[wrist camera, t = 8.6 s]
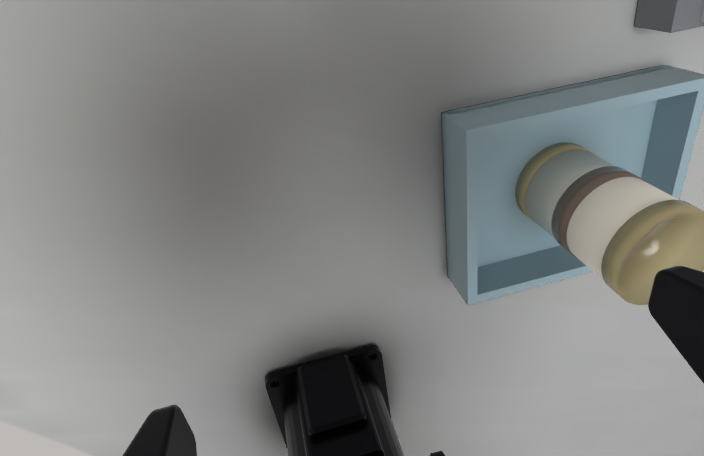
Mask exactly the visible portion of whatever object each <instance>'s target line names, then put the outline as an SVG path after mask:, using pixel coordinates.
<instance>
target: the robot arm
mask: <svg viewBox="0 0 704 456" xmlns="http://www.w3.org/2000/svg"><path fill="white" fill-rule="evenodd" d="M648 307H649V311H650V313H651V315H652V316H653V318H654V319H655V320H656V322H657V323H658V324H659V326H660V327H661V328H662V330H663V331H664V332H665V334H666V335H667V336H668V337H669V339H670V340H671V341H672V343H673V344H674V345H675V347H676V348H677V349H678V351H679V352H680V353H681V355H682V356H683V357H684V359H685V360H686V361H687V362H688V364H689V365H690V366H691V368H692V369H693V370H694V372H695V373H696V374H697V375H698V377H699V378H700V379H701V380H702V382H703V383H704V272H701V271H698V270H695V269H691V268H688V267H684V266H674V267H670V268H667V269H663V270H660V271H658V273H657V274H656V275H655V278H654V282H653V286H652V290H651V294H650V297H649V302H648ZM371 354H373V355H371ZM273 381H276V382H273ZM265 384H266V389H267V392H268V395H269V398H270V400H271V403H272V406H273V409H274V412H275V415H276V418H277V421H278V424H279V426H280V429H281V432H282V435H283V438H284V441H285V444H286V447H287V449H288V456H404V455H403V452H402V449H401V446H400V443H399V441H398V438H397V435H396V432H395V429H394V427H393V424H392V421H391V415H390V408H389V402H388V395H387V388H386V381H385V374H384V367H383V360H382V354H381V352H380V349H379V347H378V346H376V345H370V346H366V347H363V348H359V349H356V350H352V351H348V352H345V353H341V354H337V355H334V356H330V357H326V358H323V359H319V360H315V361H312V362H308V363H305V364H301V365H297V366H294V367H290V368H286V369H283V370H279V371H275V372H272V373H270V374H268V375H267V376H266V378H265ZM123 456H197V452H196V442H195V438H194V434H193V432H192V430H191V428H190V426H189V424H188V422H187V420H186V418H185V416H184V414H183V413H182V411H181V409H180V408H179V407H178V406H177V405H171V406H168V407H164V408H161V409H157V410H154V411H153V412H151V413H150V414H149V416H148V417H147V419H146V420H145V422H144V423H143V425H142V426H141V428H140V429H139V431H138V433H137V434H136V436H135V437H134V439H133V440H132V442H131V443H130V445H129V447H128V448H127V450H126V451H125V453H124V454H123ZM430 456H445V455H444V454H443V452H442V451H439V452H434V453H431V454H430Z"/></svg>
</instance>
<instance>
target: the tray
mask: <svg viewBox="0 0 704 456" xmlns="http://www.w3.org/2000/svg"><path fill="white" fill-rule="evenodd" d="M703 108H704V74H700V73H696V72H692V71H688V70H684V69H680V68H676V67H671V66H667V65H662V66H657V67H652V68H648V69H643V70H638V71H634V72H629V73H624V74H620V75H615V76H610V77H606V78H601V79H596V80H592V81H587V82H582V83H578V84H573V85H568V86H564V87H559V88H554V89H550V90H545V91H540V92H536V93H531V94H526V95H522V96H517V97H512V98H507V99H503V100H498V101H493V102H489V103H484V104H479V105H475V106H470V107H465V108H461V109H456V110H451V111H447V112H442V139H443V167H444V194H445V222H446V249H447V276H448V278H449V279H450V281H451V282H452V283H453V285H454V286H455V288H456V289H457V291H458V292H459V293H460V295H461V296H462V298H463V299H464V301H465V302H466V304H467V305H471V304H475V303H479V302H482V301H486V300H490V299H493V298H497V297H501V296H504V295H508V294H512V293H516V292H519V291H523V290H527V289H530V288H534V287H538V286H541V285H545V284H549V283H552V282H556V281H560V280H564V279H567V278H571V277H575V276H578V275H582V274H586V273H589V272H593V271H592V270H591V269H590V268H589V267H587V266H586V265H585V264H584V263H583V262H582V261H580V260H578V259H577V258H575V257H574V256H573V255H571V254H570V253H569V252H568V251H567V250H566V249H565V248H563V247H562V246H561V245H560V244H559V243H558V242H557V241H556V240H555V238H553V237H552V236H551V235H550V234H549V233H548V232H546V231H545V230H544V229H543V228H542V227H541V226H539V225H538V224H536V223H534V222H533V221H532V220H531V219H530V218H528V217H527V216H526V215H525V214H524V213H523V212H522V211H521V210H520V209H519V207H518V205H517V202H516V198H515V189H516V184H517V180H518V178H519V175H520V173H521V171H522V170H523V168H524V167H525V165H526V164H527V163H528V161H529V160H530V159H531V158H532V157H533V156H535V155H536V154H537V153H538V152H540V151H541V150H543V149H544V148H546V147H548V146H551V145H553V144H556V143H562V142H570V143H575V144H578V145H580V146H582V147H584V148H585V149H587V150H589V151H591V152H593V153H594V154H595V155H596V156H598V157H600V158H602V159H604V160H606V161H607V162H609V163H611V164H613V165H615V166H617V167H620V168H623V169H625V170H627V171H629V172H631V173H633V174H634V175H636V176H638V177H640V178H642V179H644V180H645V181H647V182H648V183H649V184H650V185H652V186H654V187H656V188H658V189H660V190H662V191H664V192H665V193H667V194H669V195H671V196H673V197H675V198H677V199H679V200H680V196H681V192H682V188H683V184H684V181H685V177H686V173H687V169H688V165H689V162H690V158H691V154H692V150H693V146H694V143H695V139H696V135H697V131H698V127H699V124H700V120H701V116H702V112H703Z"/></svg>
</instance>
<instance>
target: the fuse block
mask: <svg viewBox="0 0 704 456" xmlns="http://www.w3.org/2000/svg"><path fill="white" fill-rule="evenodd" d="M701 26H704V0H638V6H637V12H636V18H635V24H634V27H640V28H646V29H652V30H658V31H664V32H670V33H672V32H677V31H682V30H686V29H691V28H696V27H701Z"/></svg>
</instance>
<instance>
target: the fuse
mask: <svg viewBox="0 0 704 456" xmlns="http://www.w3.org/2000/svg"><path fill="white" fill-rule="evenodd" d="M515 198H516V202H517V205H518V207H519V209H520V210H521V211H522V212H523V213H524V214H525V215H526V216H527V217H528V218H530V219H531V220H532V221H533V222H534V223H536V224H538V225H539V226H541V227H542V228H543V229H544V230H545V231H546V232H548V233H549V234H550V235H551V236H552V237H553V238H555V240H556V241H557V242H558V243H559V244H560V245H561V246H562V247H563V248H565V249H566V250H567V251H568V252H569V253H570V254H571V255H573V256H574V257H575V258H577V259H578V260H580V261H582V262H583V263H584V264H585V265H586V266H587V267H589V268H590V269H591V270H592V271H593V272H594V273H596V274H597V275H598V276H599V277H600V278H601V279H603V280H604V282H605V283H606V284H607V285H608V286H609V287H610V288H611V289H612V290H613V291H615V292H616V293H617V294H618V295H619V296H620V297H622V298H623V299H624V300H625V301H627V302H629V303H632V304H636V305H647V304H648V302H649V297H650V294H651V290H652V286H653V282H654V278H655V275H656V274H657V273H658V271H660V270H663V269H667V268H670V267H674V266H684V267H688V268H691V269H695V270H698V271H701V272H702V271H703V269H704V211H702V210H701V209H699V208H697V207H695V206H693V205H691V204H689V203H687V202H685V201H681V200H679V199H677V198H675V197H673V196H671V195H669V194H667V193H665V192H664V191H662V190H660V189H658V188H656V187H654V186H652V185H650V184H649V183H648V182H647V181H645V180H644V179H642V178H640V177H638V176H636V175H634V174H633V173H631V172H629V171H627V170H625V169H623V168H620V167H617V166H615V165H613V164H611V163H609V162H607V161H606V160H604V159H602V158H600V157H598V156H596V155H595V154H594V153H593V152H591V151H589V150H587V149H585V148H584V147H582V146H580V145H578V144H575V143H570V142H562V143H556V144H553V145H551V146H548V147H546V148H544V149H543V150H541V151H540V152H538V153H537V154H536V155H535V156H533V157H532V158H531V159H530V160H529V161H528V163H527V164H526V165H525V167H524V168H523V170H522V171H521V173H520V175H519V178H518V180H517V184H516V189H515Z"/></svg>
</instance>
